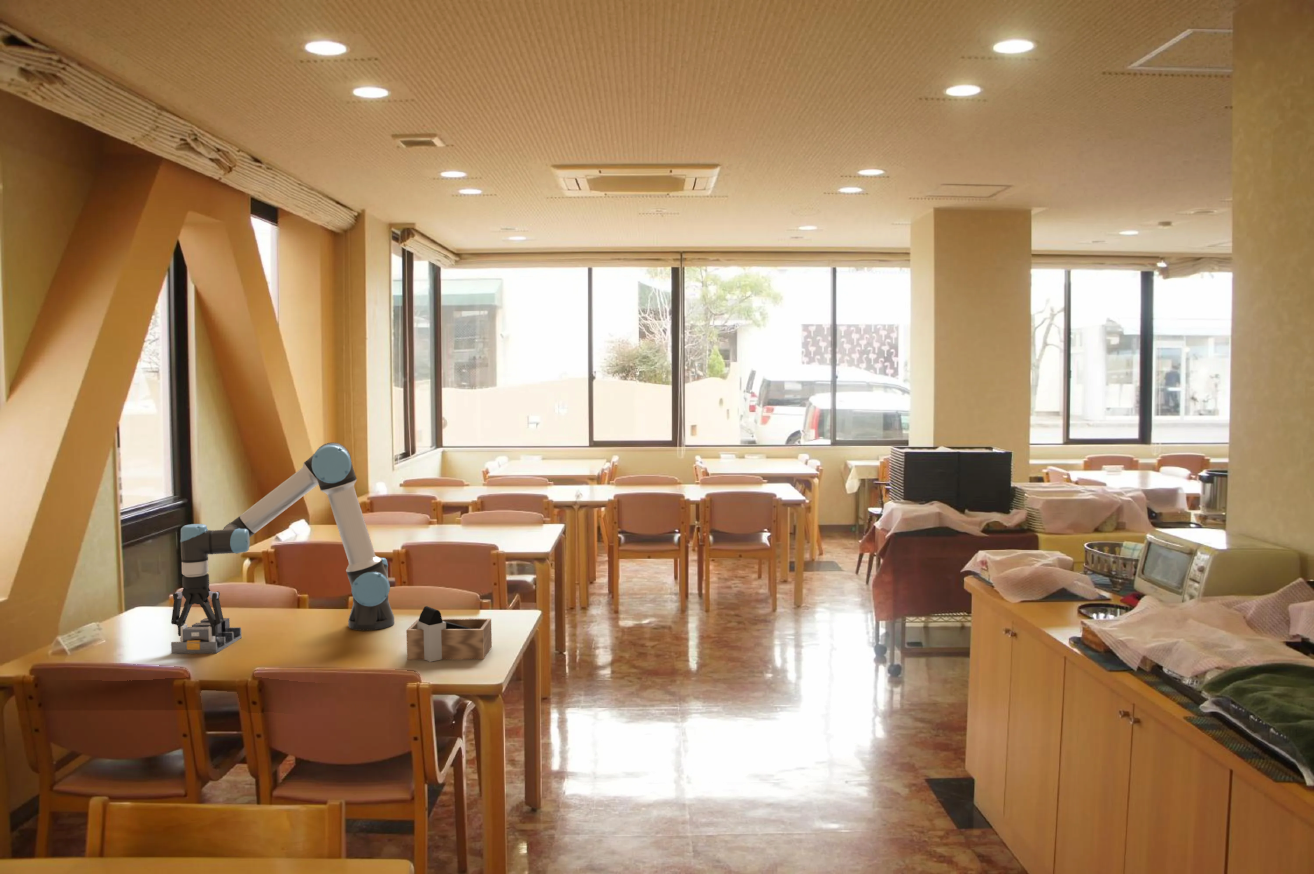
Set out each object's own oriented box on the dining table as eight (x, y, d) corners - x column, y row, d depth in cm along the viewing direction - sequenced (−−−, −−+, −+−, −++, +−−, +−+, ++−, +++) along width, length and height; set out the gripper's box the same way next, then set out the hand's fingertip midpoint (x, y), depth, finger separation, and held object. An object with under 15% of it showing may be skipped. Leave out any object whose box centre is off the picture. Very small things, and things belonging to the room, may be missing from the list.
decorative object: (483, 649, 296) (481, 601, 295) (430, 661, 284) (428, 612, 283) (469, 644, 302) (468, 597, 301) (417, 655, 290) (415, 607, 289)
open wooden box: (491, 646, 299) (491, 618, 299) (483, 659, 286) (482, 629, 286) (418, 646, 300) (418, 618, 299) (407, 659, 287) (406, 630, 286)
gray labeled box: (213, 645, 300) (212, 626, 300) (208, 648, 297) (207, 629, 296) (188, 645, 300) (187, 626, 300) (183, 648, 297) (182, 629, 296)
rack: (241, 637, 313) (240, 616, 312) (215, 653, 295) (215, 631, 295) (199, 637, 313) (198, 616, 312) (171, 653, 296) (170, 631, 295)
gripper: (234, 571, 300) (237, 642, 302) (168, 571, 301) (171, 642, 302) (222, 576, 293) (225, 649, 295) (155, 576, 293) (159, 649, 295)
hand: (198, 645), depth 299 cm, fingers closed on gray labeled box, 8 cm apart
